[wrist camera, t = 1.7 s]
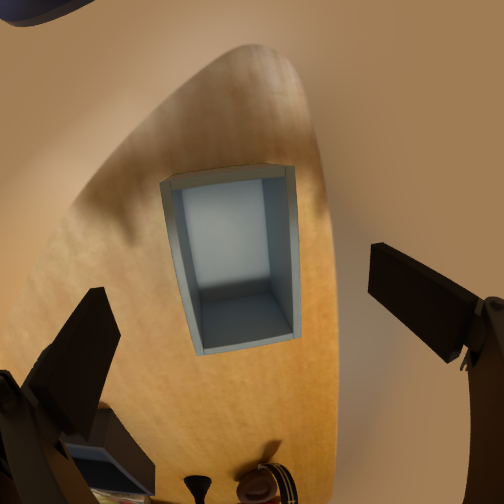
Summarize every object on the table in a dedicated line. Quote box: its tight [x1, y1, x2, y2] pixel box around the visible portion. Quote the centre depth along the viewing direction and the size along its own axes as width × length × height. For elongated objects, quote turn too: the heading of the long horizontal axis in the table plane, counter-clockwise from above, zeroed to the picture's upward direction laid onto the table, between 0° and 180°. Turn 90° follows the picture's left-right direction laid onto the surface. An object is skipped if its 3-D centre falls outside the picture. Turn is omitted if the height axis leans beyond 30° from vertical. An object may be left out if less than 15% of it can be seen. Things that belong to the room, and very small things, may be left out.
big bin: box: [60, 409, 155, 496], centre depth 22 cm, size 15×17×6 cm
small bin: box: [160, 163, 301, 356], centre depth 17 cm, size 10×6×6 cm, turn 6°
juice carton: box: [91, 489, 151, 504], centre depth 28 cm, size 20×10×6 cm, turn 167°
